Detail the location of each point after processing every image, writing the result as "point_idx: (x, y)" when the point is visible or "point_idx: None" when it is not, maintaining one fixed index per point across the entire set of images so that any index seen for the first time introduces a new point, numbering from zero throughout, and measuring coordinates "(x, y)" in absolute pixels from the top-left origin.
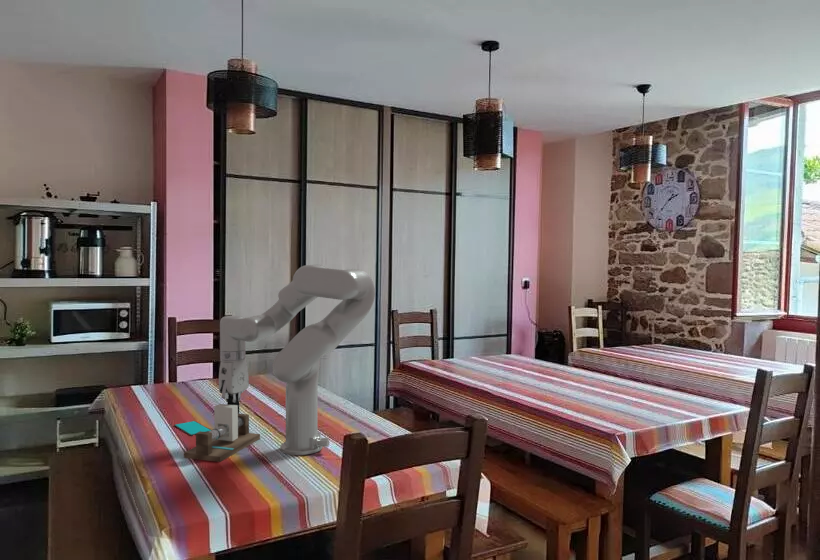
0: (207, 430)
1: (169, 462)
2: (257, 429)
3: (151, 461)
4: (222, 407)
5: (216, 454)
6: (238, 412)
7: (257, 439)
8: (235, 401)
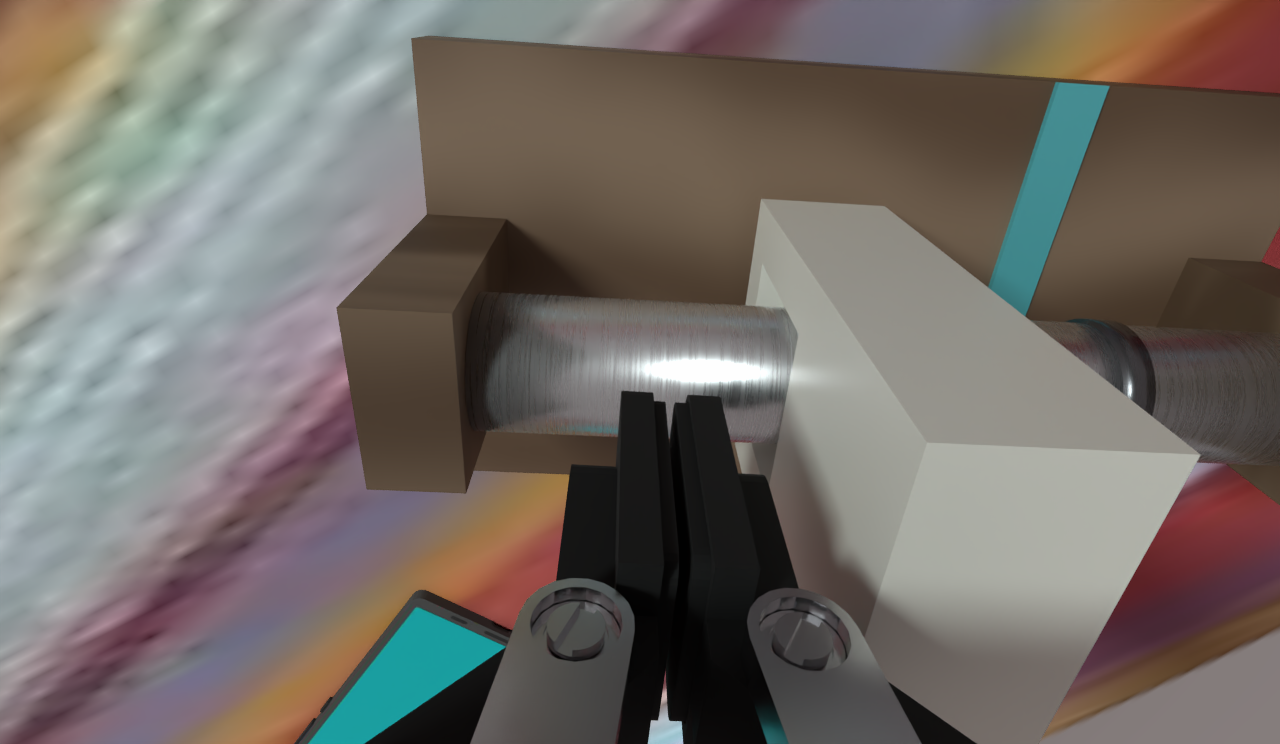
0: (431, 627)
1: (1209, 508)
2: (136, 250)
3: (1165, 615)
4: (1072, 654)
5: (1250, 186)
6: (650, 400)
7: (492, 41)
8: (765, 607)
